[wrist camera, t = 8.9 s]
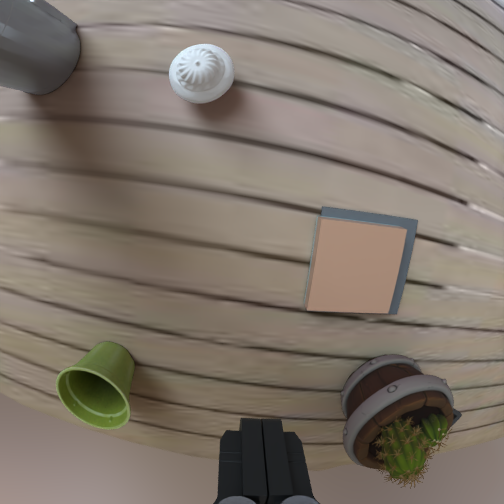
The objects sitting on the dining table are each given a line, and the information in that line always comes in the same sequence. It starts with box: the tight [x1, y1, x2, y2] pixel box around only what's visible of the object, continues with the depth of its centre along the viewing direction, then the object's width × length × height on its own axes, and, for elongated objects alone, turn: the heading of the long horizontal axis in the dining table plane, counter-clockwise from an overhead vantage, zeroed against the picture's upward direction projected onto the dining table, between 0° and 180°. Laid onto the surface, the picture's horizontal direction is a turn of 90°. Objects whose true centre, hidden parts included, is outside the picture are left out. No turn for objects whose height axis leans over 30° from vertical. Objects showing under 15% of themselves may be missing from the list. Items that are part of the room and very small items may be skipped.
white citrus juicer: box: [169, 44, 234, 103], centre depth 26 cm, size 6×6×7 cm
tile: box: [304, 216, 407, 313], centre depth 34 cm, size 10×2×10 cm
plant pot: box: [56, 342, 135, 429], centre depth 34 cm, size 9×9×9 cm
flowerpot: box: [341, 355, 454, 486], centre depth 31 cm, size 14×15×20 cm
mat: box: [306, 207, 418, 314], centre depth 35 cm, size 12×12×1 cm
